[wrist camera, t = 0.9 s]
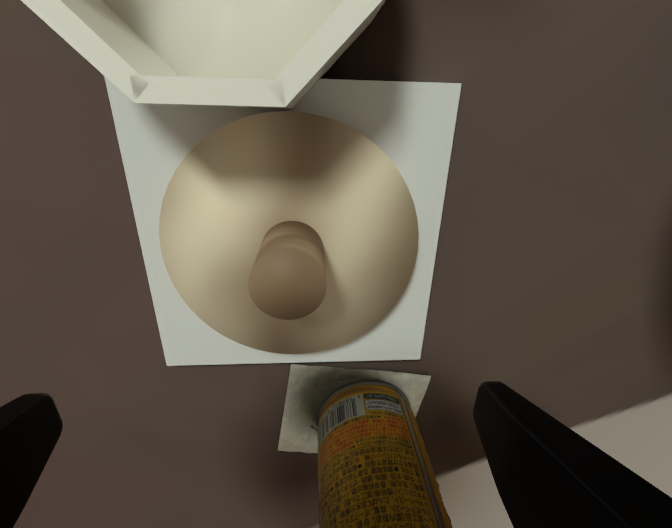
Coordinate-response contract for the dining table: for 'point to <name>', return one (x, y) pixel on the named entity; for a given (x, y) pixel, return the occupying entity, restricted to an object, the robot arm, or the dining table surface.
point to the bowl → (210, 45)
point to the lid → (288, 232)
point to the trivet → (322, 99)
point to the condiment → (364, 446)
